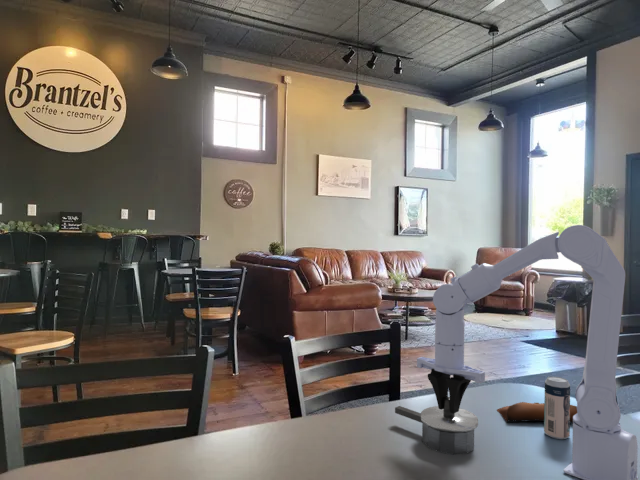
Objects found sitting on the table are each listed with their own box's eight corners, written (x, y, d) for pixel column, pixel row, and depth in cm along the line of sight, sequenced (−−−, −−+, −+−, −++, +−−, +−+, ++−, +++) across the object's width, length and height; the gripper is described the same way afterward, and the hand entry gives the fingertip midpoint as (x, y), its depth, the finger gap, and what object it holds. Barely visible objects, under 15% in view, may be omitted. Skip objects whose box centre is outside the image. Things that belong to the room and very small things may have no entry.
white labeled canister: (572, 441, 93) (573, 383, 93) (547, 439, 94) (548, 381, 94) (565, 432, 98) (565, 376, 98) (541, 430, 99) (542, 375, 99)
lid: (489, 422, 91) (489, 400, 91) (455, 437, 84) (455, 414, 84) (443, 405, 100) (443, 385, 100) (409, 418, 93) (409, 397, 93)
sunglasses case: (567, 411, 110) (575, 392, 107) (581, 436, 104) (590, 417, 101) (493, 409, 111) (499, 390, 107) (503, 434, 105) (509, 415, 101)
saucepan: (483, 444, 91) (483, 424, 91) (456, 459, 85) (456, 437, 85) (410, 417, 105) (411, 400, 105) (382, 428, 98) (382, 410, 98)
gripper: (408, 339, 95) (407, 404, 94) (471, 352, 84) (470, 426, 84) (428, 335, 99) (427, 397, 99) (490, 347, 88) (489, 417, 88)
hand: (448, 410), depth 92 cm, fingers closed on lid, 2 cm apart
